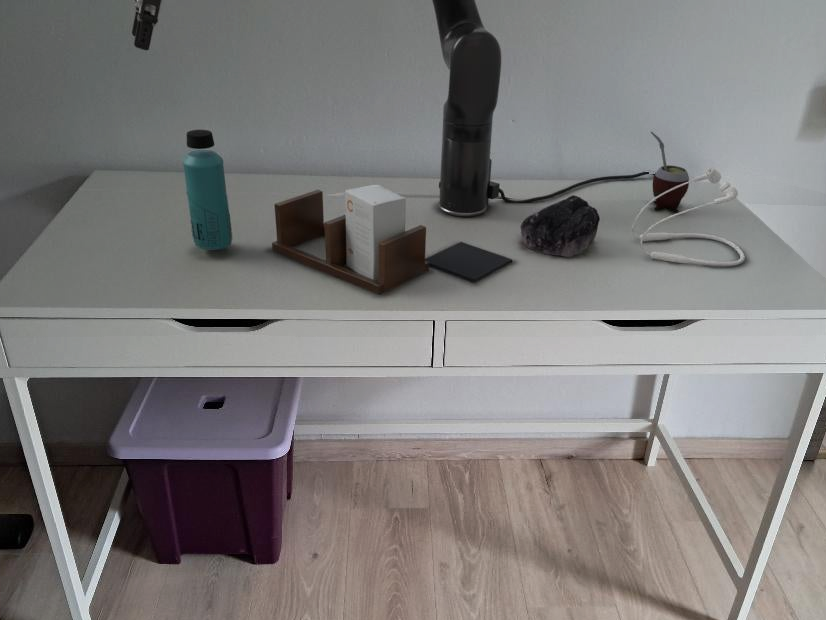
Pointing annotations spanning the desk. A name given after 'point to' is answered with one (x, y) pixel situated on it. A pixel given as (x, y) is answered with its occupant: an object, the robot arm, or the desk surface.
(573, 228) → the crystal cluster
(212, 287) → the desk surface
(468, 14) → the robot arm
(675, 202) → the mate gourd
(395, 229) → the small box
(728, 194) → the earphone
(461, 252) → the mat
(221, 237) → the beverage bottle
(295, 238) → the rack
